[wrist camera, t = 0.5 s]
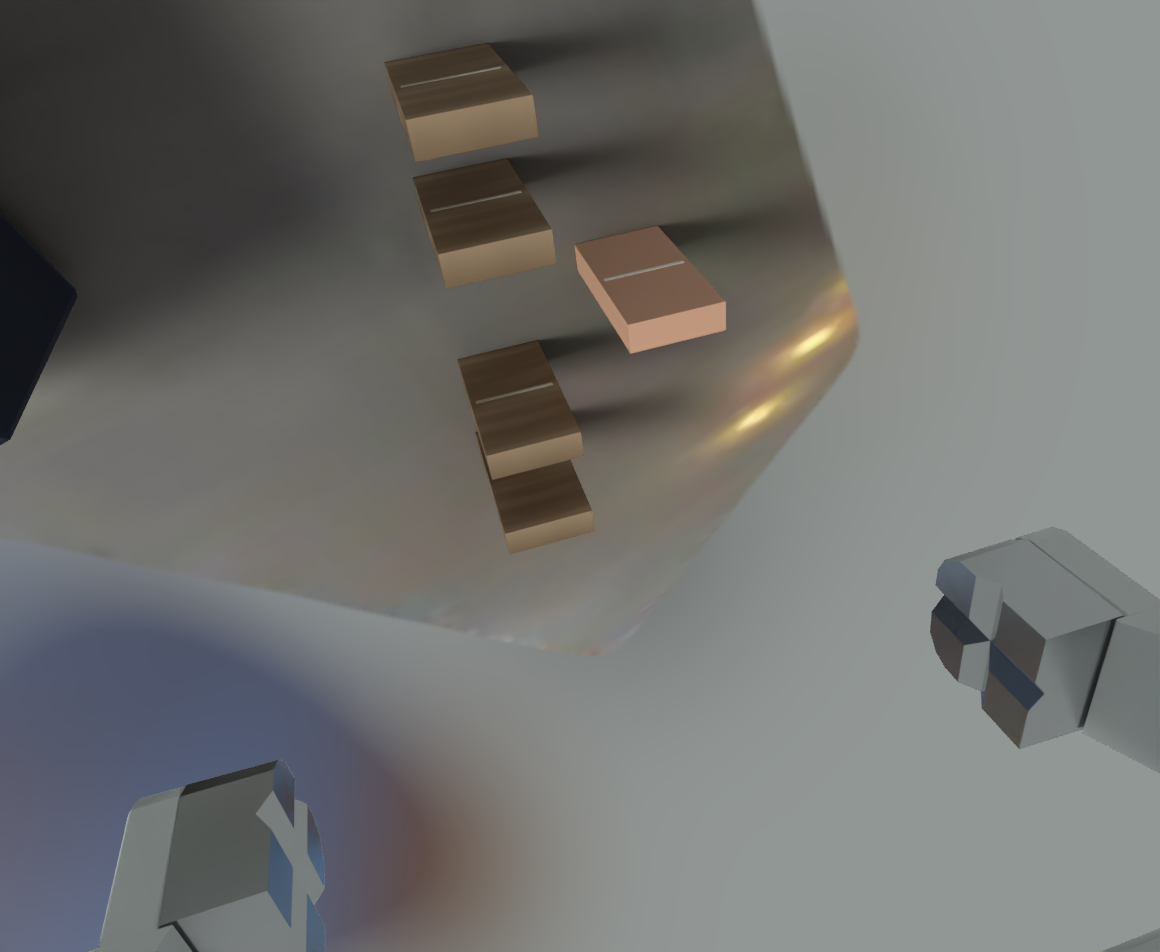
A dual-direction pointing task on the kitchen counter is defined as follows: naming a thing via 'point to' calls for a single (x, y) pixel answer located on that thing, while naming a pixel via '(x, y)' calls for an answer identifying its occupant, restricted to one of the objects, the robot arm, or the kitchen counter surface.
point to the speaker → (26, 321)
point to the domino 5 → (649, 289)
